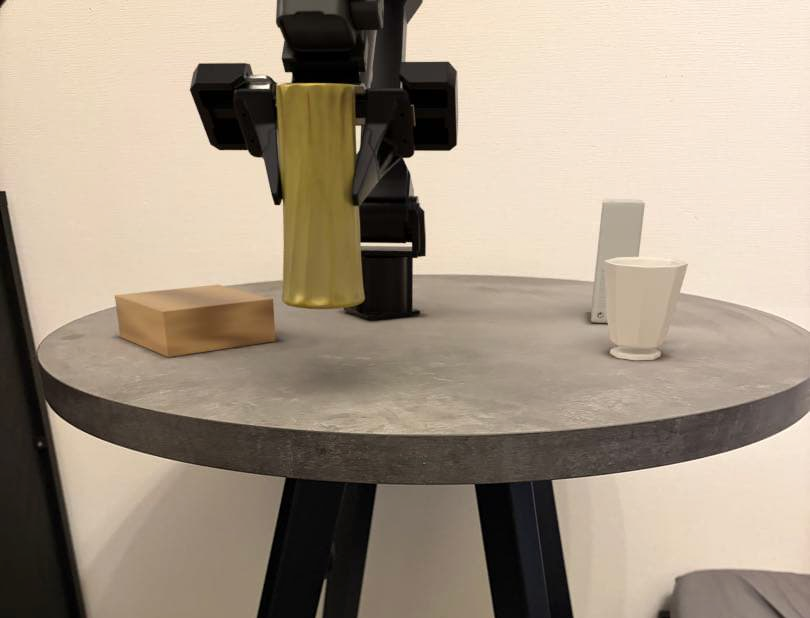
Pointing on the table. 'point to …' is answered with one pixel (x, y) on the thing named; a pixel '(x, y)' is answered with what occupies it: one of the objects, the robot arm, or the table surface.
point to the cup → (641, 303)
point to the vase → (319, 196)
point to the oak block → (195, 319)
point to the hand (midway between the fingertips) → (315, 201)
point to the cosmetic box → (615, 244)
